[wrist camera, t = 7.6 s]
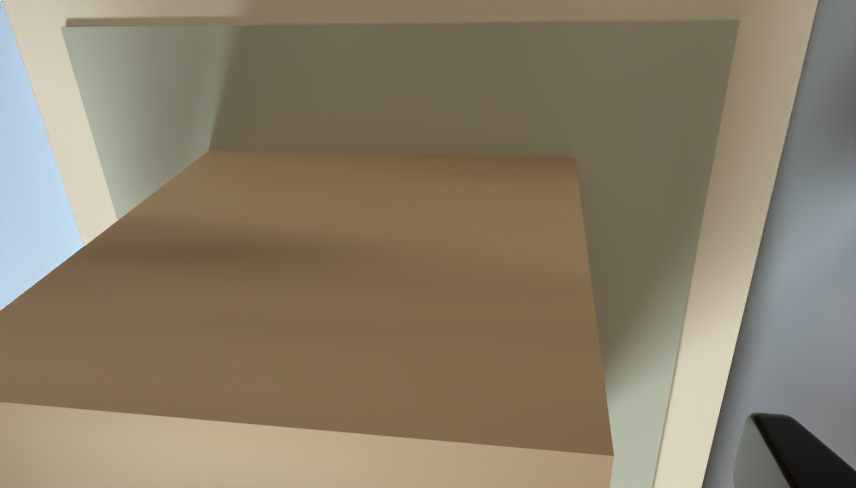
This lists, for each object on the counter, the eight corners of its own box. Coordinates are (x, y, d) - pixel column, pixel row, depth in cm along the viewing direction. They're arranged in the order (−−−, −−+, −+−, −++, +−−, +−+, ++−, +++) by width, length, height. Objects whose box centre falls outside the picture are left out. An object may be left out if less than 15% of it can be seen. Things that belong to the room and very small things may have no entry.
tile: (676, 518, 12) (685, 561, 11) (186, 468, 14) (165, 502, 13) (805, -67, 7) (837, -62, 7) (32, -45, 9) (-17, -38, 8)
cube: (553, 443, 11) (561, 829, 6) (264, 419, 11) (93, 747, 7) (575, 157, 8) (615, 454, 4) (208, 150, 9) (-107, 393, 5)
